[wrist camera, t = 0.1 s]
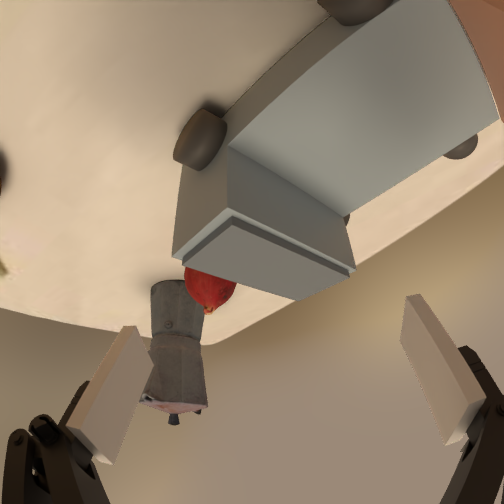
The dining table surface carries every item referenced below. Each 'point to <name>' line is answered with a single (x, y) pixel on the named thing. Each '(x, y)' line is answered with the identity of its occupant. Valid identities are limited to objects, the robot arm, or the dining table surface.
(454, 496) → the robot arm
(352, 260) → the pickup bed
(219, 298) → the red rounded piece
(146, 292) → the dining table surface
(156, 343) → the moka pot
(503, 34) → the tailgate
